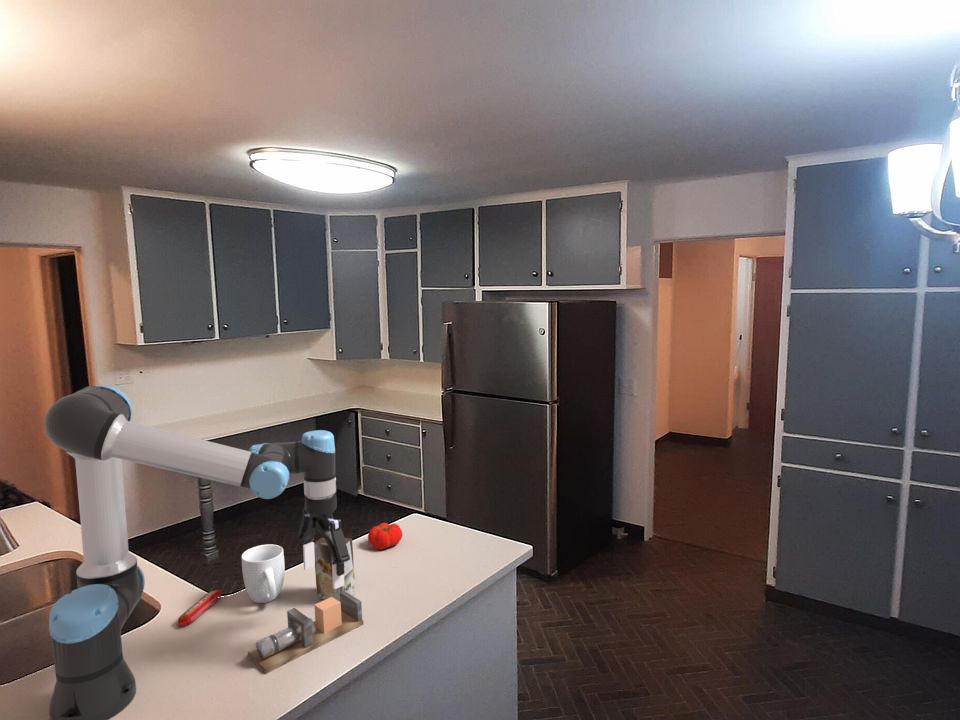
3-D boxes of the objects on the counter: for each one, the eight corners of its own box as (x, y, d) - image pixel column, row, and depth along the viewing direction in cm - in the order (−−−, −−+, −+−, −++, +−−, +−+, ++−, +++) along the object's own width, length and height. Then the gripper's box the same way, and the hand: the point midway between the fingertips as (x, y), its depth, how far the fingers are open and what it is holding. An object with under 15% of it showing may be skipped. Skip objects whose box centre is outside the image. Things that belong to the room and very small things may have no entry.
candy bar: (212, 596, 165) (211, 586, 165) (224, 597, 165) (223, 587, 164) (174, 629, 150) (173, 618, 149) (187, 630, 149) (186, 619, 149)
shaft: (264, 662, 133) (263, 645, 133) (256, 654, 136) (255, 638, 136) (316, 637, 143) (315, 621, 142) (307, 630, 145) (306, 615, 145)
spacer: (324, 633, 144) (322, 610, 143) (315, 627, 147) (314, 604, 146) (341, 624, 148) (340, 602, 147) (333, 618, 151) (331, 596, 150)
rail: (266, 673, 131) (263, 643, 130) (248, 656, 137) (246, 627, 136) (363, 624, 150) (362, 597, 149) (343, 611, 156) (342, 585, 155)
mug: (295, 605, 159) (292, 560, 157) (252, 619, 153) (249, 571, 151) (280, 583, 171) (277, 540, 170) (240, 594, 165) (237, 550, 164)
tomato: (363, 547, 194) (362, 528, 193) (386, 535, 203) (385, 517, 202) (384, 555, 188) (384, 535, 187) (407, 542, 197) (407, 523, 196)
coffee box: (356, 592, 165) (353, 538, 163) (343, 604, 159) (340, 548, 157) (329, 587, 168) (326, 533, 166) (315, 598, 163) (312, 543, 161)
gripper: (363, 503, 137) (365, 589, 140) (308, 479, 154) (311, 556, 157) (335, 512, 132) (338, 601, 134) (281, 486, 149) (285, 565, 151)
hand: (323, 577), depth 146 cm, fingers open, 13 cm apart
